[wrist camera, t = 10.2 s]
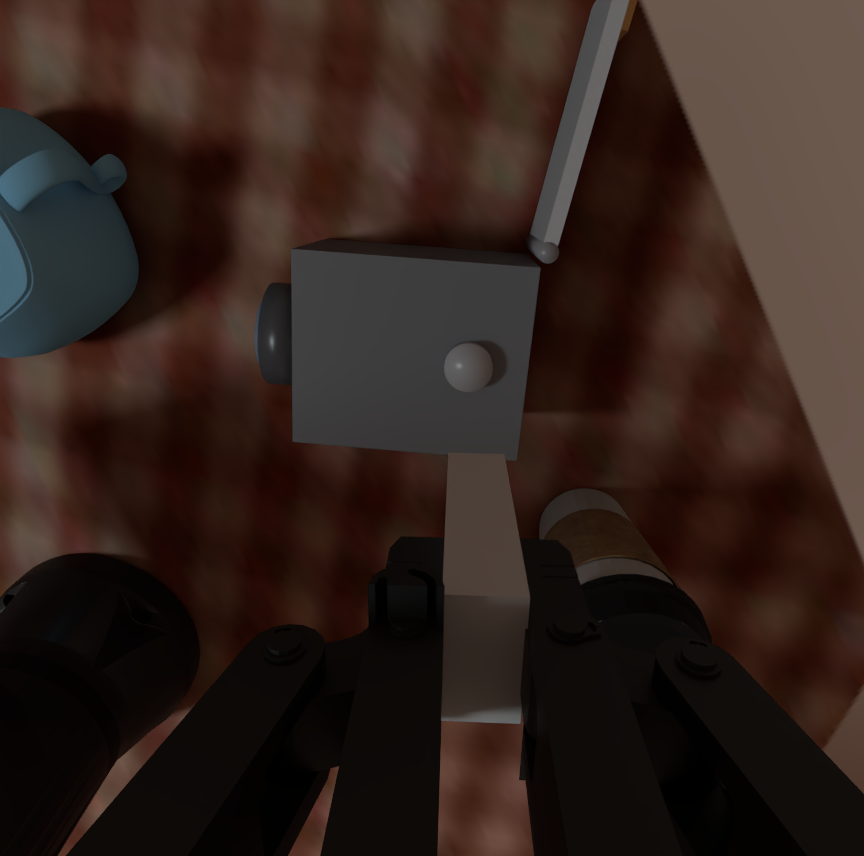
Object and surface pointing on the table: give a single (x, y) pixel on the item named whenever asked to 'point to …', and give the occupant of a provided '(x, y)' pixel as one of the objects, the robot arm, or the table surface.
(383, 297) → the camera case
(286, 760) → the robot arm
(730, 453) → the table surface
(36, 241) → the teapot
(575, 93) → the side door
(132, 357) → the table surface
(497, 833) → the table surface
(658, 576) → the coffee cup
